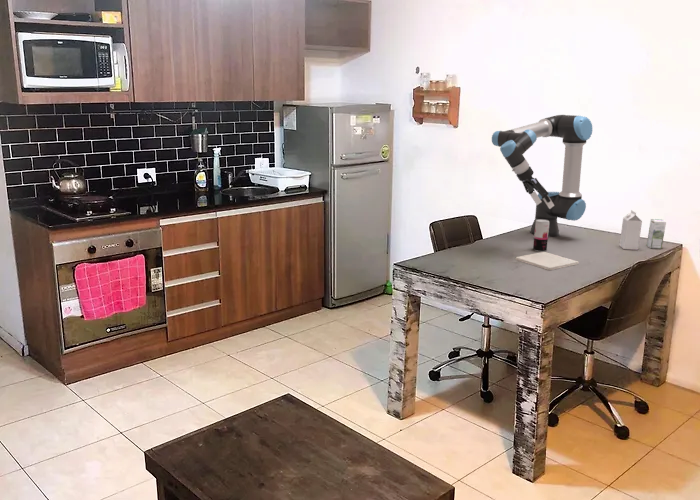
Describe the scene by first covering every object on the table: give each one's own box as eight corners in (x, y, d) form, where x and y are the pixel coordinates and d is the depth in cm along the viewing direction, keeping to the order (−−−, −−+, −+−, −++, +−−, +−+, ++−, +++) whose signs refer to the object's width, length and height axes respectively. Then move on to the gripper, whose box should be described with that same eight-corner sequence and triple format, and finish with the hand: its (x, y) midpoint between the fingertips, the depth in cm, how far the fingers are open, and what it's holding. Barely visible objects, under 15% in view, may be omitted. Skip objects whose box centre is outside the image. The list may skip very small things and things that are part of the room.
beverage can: (547, 252, 317) (550, 222, 313) (533, 251, 319) (536, 221, 315) (545, 249, 324) (548, 219, 320) (532, 248, 325) (535, 219, 321)
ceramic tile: (515, 259, 303) (515, 257, 303) (543, 254, 314) (544, 251, 314) (549, 270, 287) (549, 267, 287) (578, 264, 298) (578, 261, 298)
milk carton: (633, 246, 332) (638, 210, 327) (638, 250, 325) (643, 213, 320) (619, 245, 333) (624, 209, 328) (623, 249, 326) (628, 212, 321)
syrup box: (657, 246, 334) (662, 218, 330) (662, 249, 328) (666, 221, 324) (646, 245, 334) (650, 218, 330) (650, 248, 329) (654, 220, 325)
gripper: (506, 172, 319) (528, 206, 325) (527, 177, 295) (551, 213, 300) (518, 163, 319) (540, 197, 325) (540, 167, 295) (563, 203, 300)
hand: (545, 205), depth 313 cm, fingers open, 13 cm apart
